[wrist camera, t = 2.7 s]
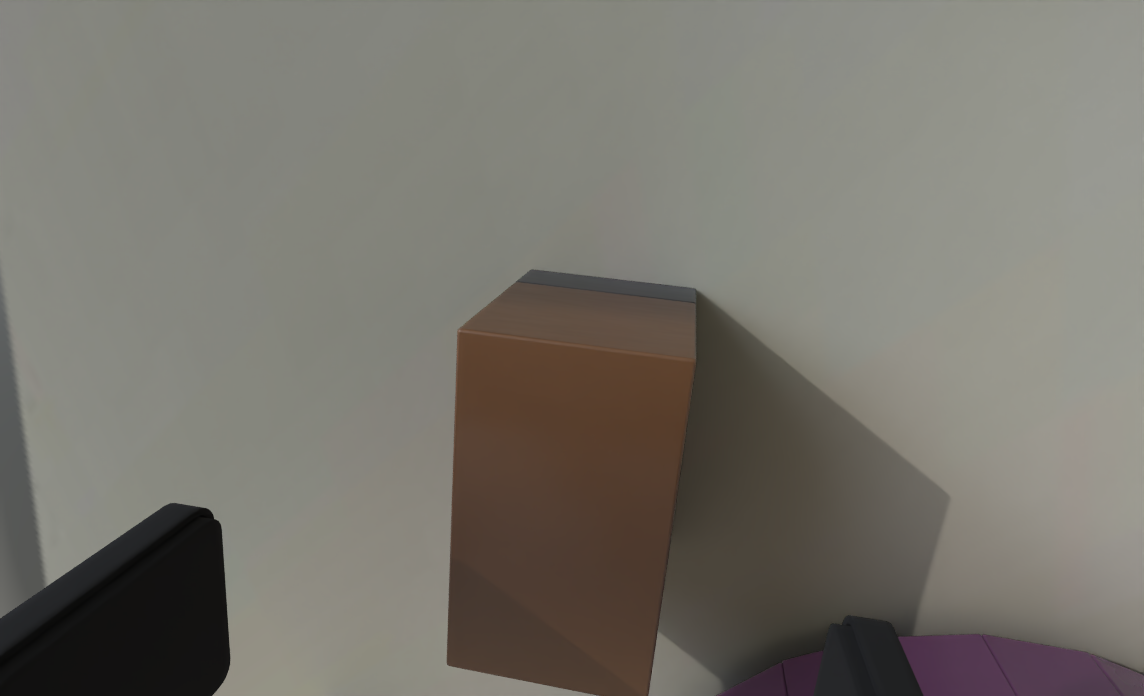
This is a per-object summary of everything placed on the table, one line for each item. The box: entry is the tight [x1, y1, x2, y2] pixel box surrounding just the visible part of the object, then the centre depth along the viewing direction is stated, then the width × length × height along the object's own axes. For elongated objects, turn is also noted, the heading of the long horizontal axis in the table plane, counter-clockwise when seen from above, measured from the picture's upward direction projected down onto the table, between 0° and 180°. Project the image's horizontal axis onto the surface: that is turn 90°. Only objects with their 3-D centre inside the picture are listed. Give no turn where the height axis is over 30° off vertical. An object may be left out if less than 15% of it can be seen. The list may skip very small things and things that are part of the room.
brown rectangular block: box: [447, 270, 696, 696], centre depth 15 cm, size 7×4×6 cm, turn 175°
